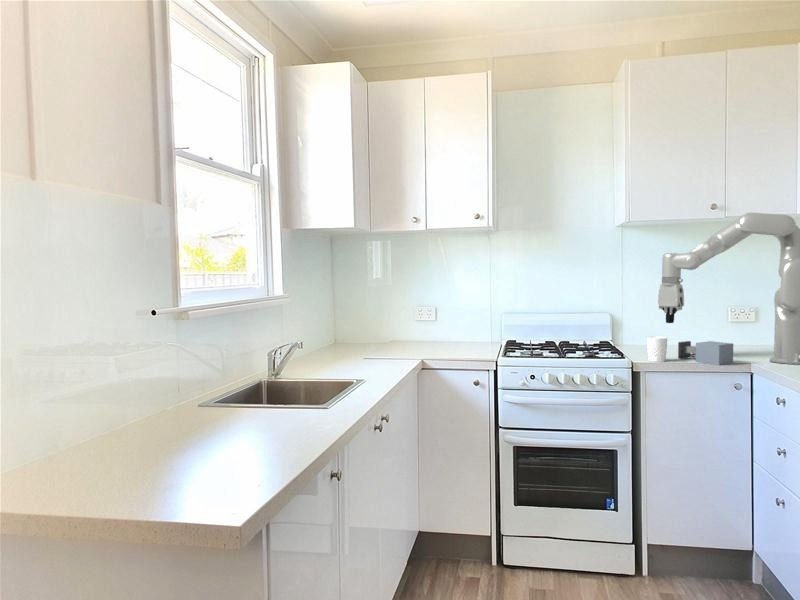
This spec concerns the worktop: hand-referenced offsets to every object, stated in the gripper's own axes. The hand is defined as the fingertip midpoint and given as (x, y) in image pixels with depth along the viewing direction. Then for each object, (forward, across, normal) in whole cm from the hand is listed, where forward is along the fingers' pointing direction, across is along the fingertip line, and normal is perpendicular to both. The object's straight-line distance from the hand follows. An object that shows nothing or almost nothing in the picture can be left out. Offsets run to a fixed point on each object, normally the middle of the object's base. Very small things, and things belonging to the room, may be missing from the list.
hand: (669, 322), depth 259 cm
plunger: (+15, -12, -2) cm, 19 cm away
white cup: (+15, -4, +15) cm, 22 cm away
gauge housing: (+15, -15, -2) cm, 21 cm away
